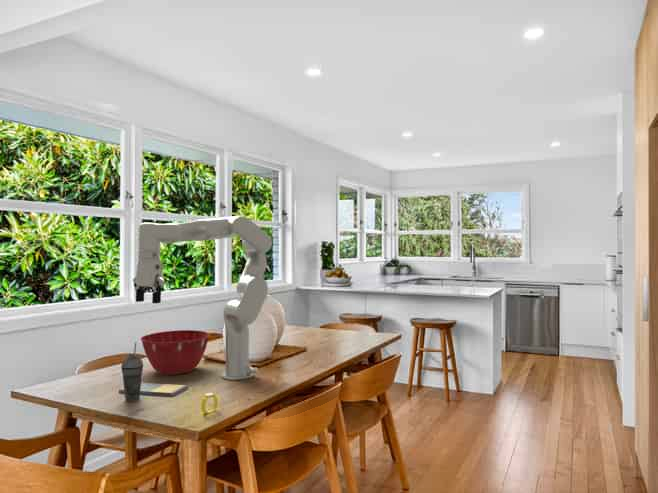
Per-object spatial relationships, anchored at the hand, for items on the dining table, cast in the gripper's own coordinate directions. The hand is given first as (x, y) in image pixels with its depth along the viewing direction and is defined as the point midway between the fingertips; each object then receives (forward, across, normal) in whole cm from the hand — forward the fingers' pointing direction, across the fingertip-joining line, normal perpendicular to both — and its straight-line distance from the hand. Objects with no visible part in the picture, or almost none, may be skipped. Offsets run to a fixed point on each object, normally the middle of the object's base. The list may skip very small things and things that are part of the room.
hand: (148, 302), depth 183 cm
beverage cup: (+33, -5, +9) cm, 35 cm away
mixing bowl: (+33, +16, -26) cm, 45 cm away
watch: (+33, -38, +4) cm, 50 cm away
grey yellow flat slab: (+33, -2, -2) cm, 33 cm away
